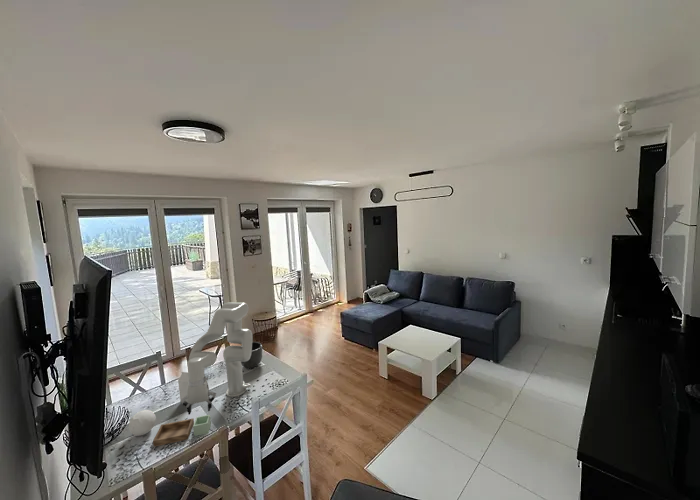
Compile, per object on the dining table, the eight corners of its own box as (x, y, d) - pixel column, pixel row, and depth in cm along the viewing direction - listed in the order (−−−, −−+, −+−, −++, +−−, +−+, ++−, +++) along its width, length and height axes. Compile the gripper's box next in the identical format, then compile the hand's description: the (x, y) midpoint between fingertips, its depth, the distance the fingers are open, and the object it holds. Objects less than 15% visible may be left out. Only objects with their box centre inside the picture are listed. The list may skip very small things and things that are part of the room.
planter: (268, 362, 225) (266, 343, 223) (252, 374, 210) (250, 353, 208) (251, 359, 232) (249, 340, 230) (234, 369, 217) (233, 350, 215)
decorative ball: (125, 438, 153) (121, 417, 152) (147, 422, 164) (144, 403, 163) (140, 443, 149) (137, 422, 147) (162, 427, 160) (159, 407, 159)
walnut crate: (194, 423, 162) (193, 418, 162) (188, 439, 151) (187, 433, 150) (162, 429, 158) (161, 424, 158) (153, 446, 147) (152, 441, 146)
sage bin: (211, 424, 161) (210, 414, 161) (208, 433, 155) (207, 423, 154) (197, 427, 160) (196, 417, 159) (194, 436, 153) (193, 426, 152)
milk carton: (190, 404, 179) (187, 375, 176) (180, 403, 180) (177, 375, 178) (198, 397, 186) (195, 369, 183) (189, 395, 187) (185, 368, 185)
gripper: (215, 374, 159) (218, 403, 161) (181, 380, 154) (184, 410, 156) (213, 382, 152) (215, 412, 154) (176, 388, 147) (179, 419, 149)
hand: (199, 411), depth 155 cm, fingers open, 9 cm apart
